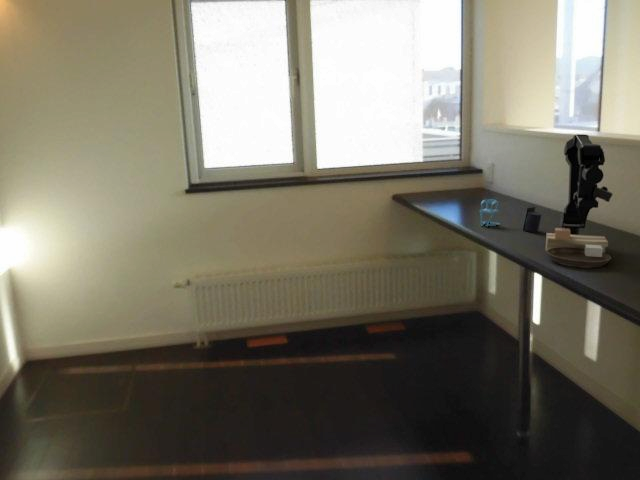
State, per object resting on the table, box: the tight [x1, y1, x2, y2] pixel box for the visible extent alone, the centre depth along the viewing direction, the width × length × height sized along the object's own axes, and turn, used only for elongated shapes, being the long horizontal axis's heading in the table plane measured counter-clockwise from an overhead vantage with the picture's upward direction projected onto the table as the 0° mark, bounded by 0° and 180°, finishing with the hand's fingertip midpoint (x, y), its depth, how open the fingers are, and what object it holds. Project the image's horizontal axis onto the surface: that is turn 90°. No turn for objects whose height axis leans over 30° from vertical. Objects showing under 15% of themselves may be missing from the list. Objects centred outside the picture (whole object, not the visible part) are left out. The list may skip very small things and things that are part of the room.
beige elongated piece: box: [545, 232, 609, 254], centre depth 219 cm, size 11×20×6 cm, turn 72°
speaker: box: [522, 206, 542, 233], centre depth 258 cm, size 8×6×10 cm
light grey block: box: [585, 244, 603, 257], centre depth 205 cm, size 5×5×3 cm
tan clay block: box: [554, 227, 571, 239], centre depth 218 cm, size 5×5×3 cm
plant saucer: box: [546, 247, 612, 269], centre depth 208 cm, size 21×21×3 cm
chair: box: [478, 198, 501, 228], centre depth 271 cm, size 8×8×12 cm
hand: (583, 222), depth 216 cm, fingers closed
